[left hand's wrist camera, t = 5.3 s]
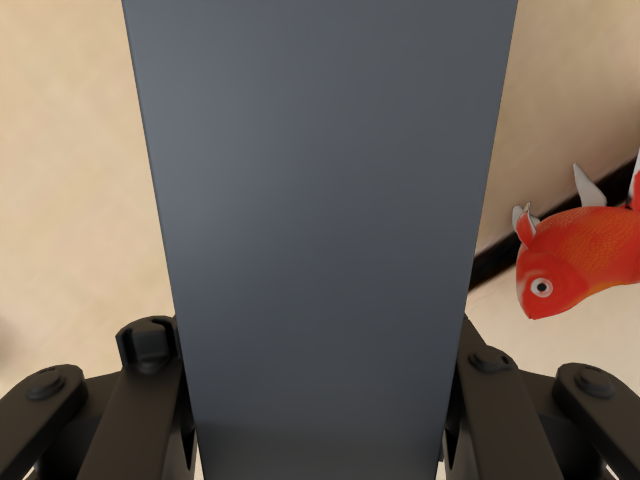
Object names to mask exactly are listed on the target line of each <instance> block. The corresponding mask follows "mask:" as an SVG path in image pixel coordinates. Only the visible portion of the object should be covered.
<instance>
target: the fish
mask: <svg viewBox="0 0 640 480" xmlns="http://www.w3.org/2000/svg"><path fill="white" fill-rule="evenodd" d="M573 168H574V175H575V182H576V187H577V189H578V192H579V195H580V198H581V201H582V207H579V208H574V209H570V210H567V211H563V212H560V213H557V214H554V215H552V216H550V217H548V218H546V219H544V220H543V221H541V222H540V221H539V219H538V218H536V217H534V216H533V215H531V214H530V203H531V202H528V203H527V205H526V206H525V208H524V209H523V208H522V207H520V206H518V205H517V206H515V207H514V208H513V213H512V225H513V229H514V230H515V232H516V233H517V235H518V237H519V239H520V241H521V242H522V244H521V246H520V249H519V253H518V257H517V262H516V288H517V296H518V300H519V303H520V305H521V307H522V309H523V311H524V312H525V314H526V315H527V317H528V318H529V319H531V318H532V319H533V320H536V319H540V318H544V317H549V316H553V315H556V314H560V313H562V312H565V311H567V310H569V309H571V308H572V307H574V306H575V305H576V304H578V303H579V302H581V301H582V300H583V299H585V298H587V297H588V296H590V295H593V294H595V293H597V292H600V291H602V290H605V289H607V288H610V287H612V286H617V285H628V284H636V283H640V149H639V153H638V157H637V161H636V165H635V169H634V173H633V177H632V181H631V184H630V188H629V192H628V196H627V199H626V203H625V204H624V205H623V206H621V207H619V208H618V207H607V200H606V197H605V196H604V194H603V193H602V192H601V191H600V190H599V188H598V187H597V186H596V185H595V184H594V183H593V182H592V181H591V180H590V179H589V178H588V177H587V176H586V174H585V173H584V172H583V171H582V169H581V168H580V167H579V166H578V164H576V163H574V164H573Z"/></svg>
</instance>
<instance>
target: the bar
mask: <svg viewBox="0 0 640 480" xmlns="http://www.w3.org/2000/svg"><path fill="white" fill-rule="evenodd" d="M121 1H122V7H123V12H124V18H125V24H126V30H127V36H128V41H129V47H130V53H131V59H132V65H133V70H134V76H135V82H136V88H137V94H138V99H139V105H140V111H141V117H142V123H143V128H144V134H145V140H146V146H147V152H148V157H149V163H150V169H151V175H152V181H153V186H154V192H155V198H156V204H157V210H158V215H159V221H160V227H161V233H162V239H163V244H164V250H165V256H166V262H167V268H168V274H169V279H170V285H171V291H172V297H173V303H174V308H175V314H176V320H177V326H178V332H179V337H180V343H181V349H182V355H183V361H184V366H185V372H186V378H187V384H188V390H189V395H190V401H191V407H192V413H193V419H194V424H195V430H196V436H197V442H198V448H199V453H200V459H201V465H202V471H203V477H204V480H436V474H437V468H438V462H439V457H440V451H441V445H442V439H443V433H444V428H445V422H446V416H447V410H448V404H449V398H450V393H451V387H452V381H453V375H454V369H455V364H456V358H457V352H458V346H459V340H460V334H461V329H462V323H463V317H464V311H465V305H466V300H467V294H468V288H469V282H470V276H471V270H472V265H473V259H474V253H475V247H476V241H477V236H478V230H479V224H480V218H481V212H482V206H483V201H484V195H485V189H486V183H487V177H488V172H489V166H490V160H491V154H492V148H493V142H494V137H495V131H496V125H497V119H498V113H499V108H500V102H501V96H502V90H503V84H504V78H505V73H506V67H507V61H508V55H509V49H510V44H511V38H512V32H513V26H514V20H515V14H516V9H517V3H518V0H121Z"/></svg>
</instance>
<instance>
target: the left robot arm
mask: <svg viewBox="0 0 640 480" xmlns="http://www.w3.org/2000/svg"><path fill="white" fill-rule="evenodd" d="M115 337H116V341H117V345H118V349H119V353H120V357H121V361H122V365H123V367H122V369H121V371H118V372H115V373H111V374H107V375H102V376H98V377H93V378H88V379H85V378H84V374H83V371H82V370H81V369H80V368H79V367H78V366H75V365H70V364H64V365H56V366H52V367H49V368H45V369H42V370H40V371H38V372H36V373H34V374H32V375H30V376H28V377H26V378H25V379H24V380H22V381H21V382H20V383H18V384H17V385H16V386H15V387H13V388H12V389H11V390H10V391H9V392H8V393H7V394H6V395H5V396H4V397H3V398H1V399H0V480H22V479H23V478H24V477H25V475H26V474H27V473H28V472H29V470H30V469H31V468H32V467H34V470H33V472H32V473H31V474H30V475H29V476H28V477H27V478H26V479H25V480H194V472H195V462H196V452H197V443H198V442H197V436H196V430H195V424H194V419H193V413H192V407H191V401H190V395H189V390H188V384H187V378H186V372H185V366H184V361H183V355H182V349H181V343H180V337H179V332H178V326H177V320H176V314H175V315H174V317H173V318H172V317H168V316H150V317H146V318H141V319H139V320H136V321H134V322H131V323H129V324H128V325H126V326H125V327H123V328H122V329H121V330H120V331H119V332H118V333H117V334H116V336H115ZM443 460H444V461H445V471H446V480H616V479H615V478H614V477H613V476H612V475H611V474H610V472H609V471H608V470H607V468H606V466H607V464H608V466H609V467H610V468H611V469H612V471H613V472H614V473H615V474H616V476H617V477H618V478H619V480H640V397H639V396H637V395H636V394H635V393H634V392H633V391H632V390H631V389H630V388H629V387H628V386H627V385H625V384H624V383H623V382H622V381H620V380H619V379H618V378H616V377H615V376H613V375H612V374H610V373H608V372H606V371H604V370H602V369H600V368H597V367H594V366H591V365H587V364H581V363H567V364H563V365H562V366H560V367H559V368H558V370H557V373H556V377H555V378H554V377H549V376H545V375H540V374H535V373H531V372H527V371H523V370H520V369H518V366H517V365H516V363H515V362H514V360H513V359H512V358H511V357H510V356H508V355H507V354H506V353H504V352H503V351H501V350H499V349H497V348H494V347H492V346H488V345H486V343H485V342H484V340H483V339H482V337H481V336H480V334H479V333H478V331H477V330H476V329H475V327H474V326H473V324H472V323H471V321H470V320H468V317H467V315H466V314H465V312H464V317H463V323H462V329H461V334H460V340H459V346H458V352H457V358H456V364H455V369H454V375H453V381H452V387H451V393H450V398H449V404H448V410H447V416H446V422H445V428H444V433H443V439H442V445H441V451H440V457H439V461H440V462H443Z"/></svg>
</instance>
